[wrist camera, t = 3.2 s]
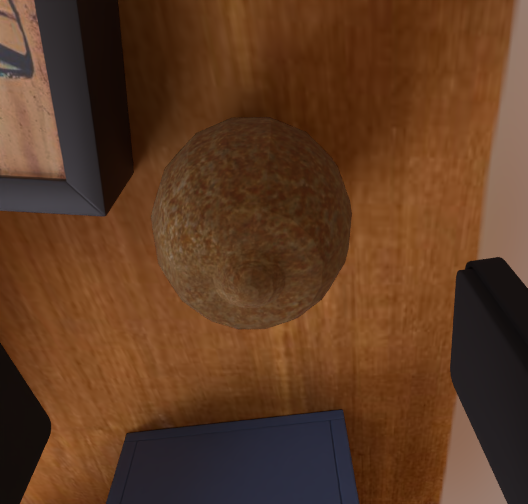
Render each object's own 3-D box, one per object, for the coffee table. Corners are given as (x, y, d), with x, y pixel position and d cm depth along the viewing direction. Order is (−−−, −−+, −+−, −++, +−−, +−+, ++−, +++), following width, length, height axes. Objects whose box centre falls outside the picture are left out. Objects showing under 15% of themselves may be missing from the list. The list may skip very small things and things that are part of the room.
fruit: (313, 249, 20) (337, 395, 13) (170, 226, 19) (118, 366, 13) (353, 106, 17) (413, 203, 10) (183, 74, 16) (122, 153, 9)
